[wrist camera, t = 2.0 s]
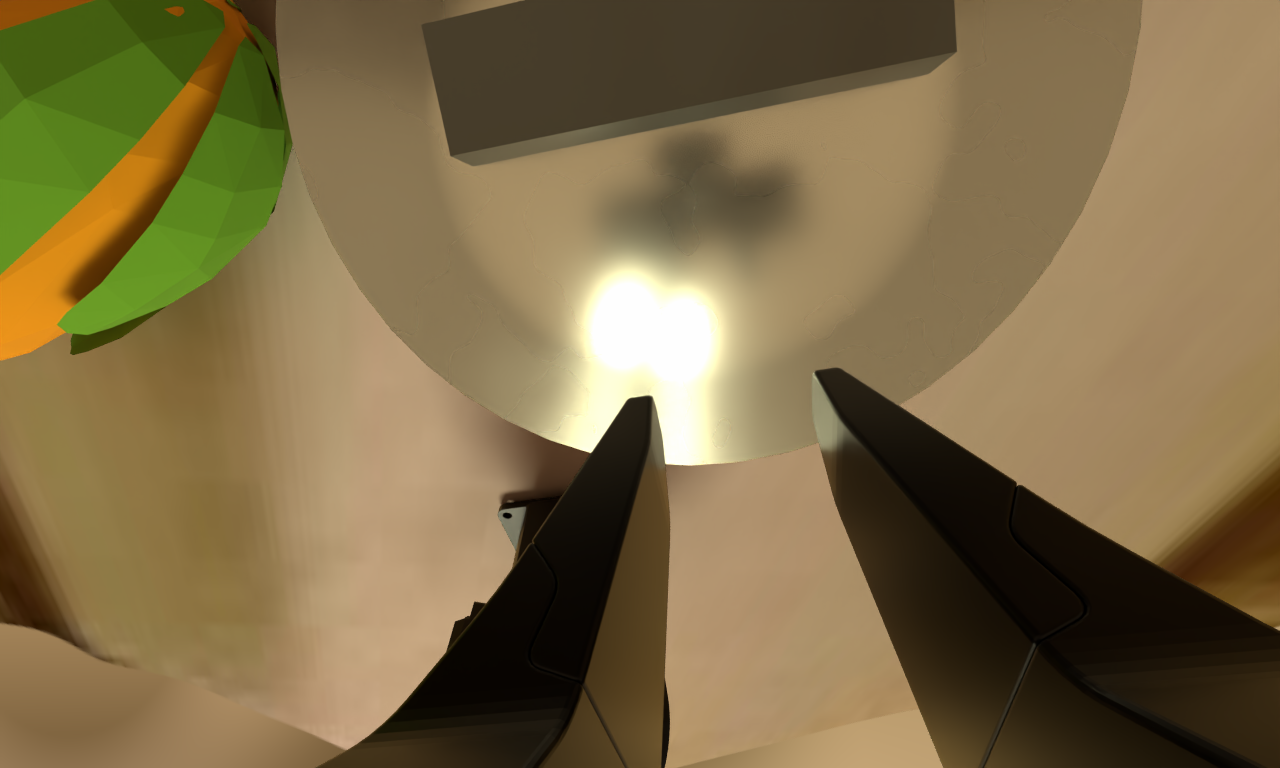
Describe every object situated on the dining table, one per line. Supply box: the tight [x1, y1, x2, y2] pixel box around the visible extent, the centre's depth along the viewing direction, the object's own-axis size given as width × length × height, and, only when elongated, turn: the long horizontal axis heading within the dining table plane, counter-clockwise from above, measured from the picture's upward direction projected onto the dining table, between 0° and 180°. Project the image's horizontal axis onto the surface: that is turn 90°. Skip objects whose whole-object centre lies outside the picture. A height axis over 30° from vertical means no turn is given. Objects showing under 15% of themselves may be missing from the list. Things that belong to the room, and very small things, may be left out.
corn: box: [0, 0, 293, 360], centre depth 17 cm, size 7×8×20 cm
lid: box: [276, 0, 1142, 465], centre depth 9 cm, size 15×15×3 cm
